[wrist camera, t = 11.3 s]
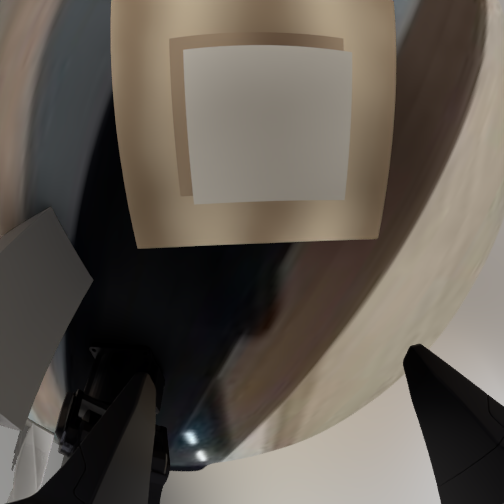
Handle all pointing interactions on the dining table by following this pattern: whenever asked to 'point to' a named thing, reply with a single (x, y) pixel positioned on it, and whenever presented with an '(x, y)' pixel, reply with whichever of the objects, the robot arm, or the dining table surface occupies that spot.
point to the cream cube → (268, 122)
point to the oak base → (175, 123)
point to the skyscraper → (30, 460)
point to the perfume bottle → (34, 308)
